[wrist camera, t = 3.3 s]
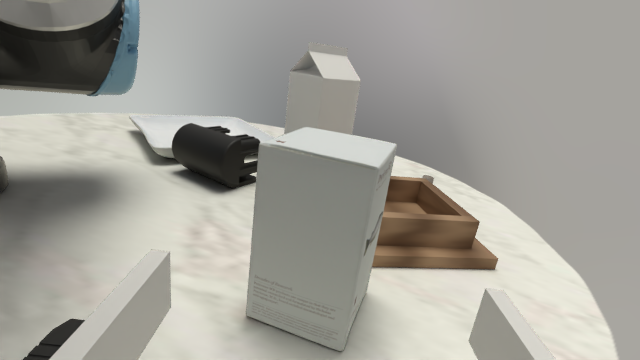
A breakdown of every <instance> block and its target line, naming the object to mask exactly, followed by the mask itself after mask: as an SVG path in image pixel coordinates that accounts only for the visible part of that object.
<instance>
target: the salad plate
mask: <svg viewBox="0 0 640 360" xmlns="http://www.w3.org/2000/svg"><path fill="white" fill-rule="evenodd" d="M129 117H130V119H131V121H132V122H133V123H134V125H135V126H136V127H137V128H138V129H139V130H140V131H141V132H142V133H143V134H144V136H145V137H146V140H147V141H148V143H149V145H150V146H151V147H152V149H153V150H154V151H155V152H156V153H157V154H158V155H161V156H163V157H167V158H175V157H174V156H173V153H172V141H173V138H174V135H175V134H176V132H177V131H178V130H179V129H180V128H181V127H182V126H184V125H186V124H189V123H193V124H197V125H200V126H203V127H213V126H221V127H223V128H227V129H229V130H230V133H226V134H227V135H230V136H237V135H244V134H247V135H248V136H251V137H252V136H254V137H255V138H257V139H259V140H260V143H262V142H265V141H268V140H271V139H274V138H275V137H273V136H271V135H270V134H268V133H266V132H264V131H262V130H261V129H259V128H257V127H255V126H253V125H251V124H249V123H247V122H246V121H244V120H241V119H240V118H237V117H218V116H190V115H130V116H129ZM254 154H258V153H254ZM249 155H251V154H249Z"/></svg>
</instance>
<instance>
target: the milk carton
mask: <svg viewBox="0 0 640 360" xmlns="http://www.w3.org/2000/svg"><path fill="white" fill-rule="evenodd" d="M360 81H361V80H360V78H359V77H358V75H357V73H356V72H355V70H354V68H353V67H352V65H351V63H350V61H349V60H348V58H347V48H342V47H336V46H330V45H324V44H317V43H310V42H309V47H308V52H307V53H306V54H305V55H304V56H303V57H302V58H301V59H300V60H299V62H298V63H297V64H296V65H295V66H294V67H293V68H292V69H291V71H290V78H289V89H288V100H287V110H286V121H285V132H284V134H287V133H290V132H293V131H295V130H298V129H301V128H303V127H310V128H316V129H322V130H327V131H333V132H338V133H344V134H349V135H352V131H353V125H354V119H355V112H356V106H357V99H358V93H359V87H360Z"/></svg>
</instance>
